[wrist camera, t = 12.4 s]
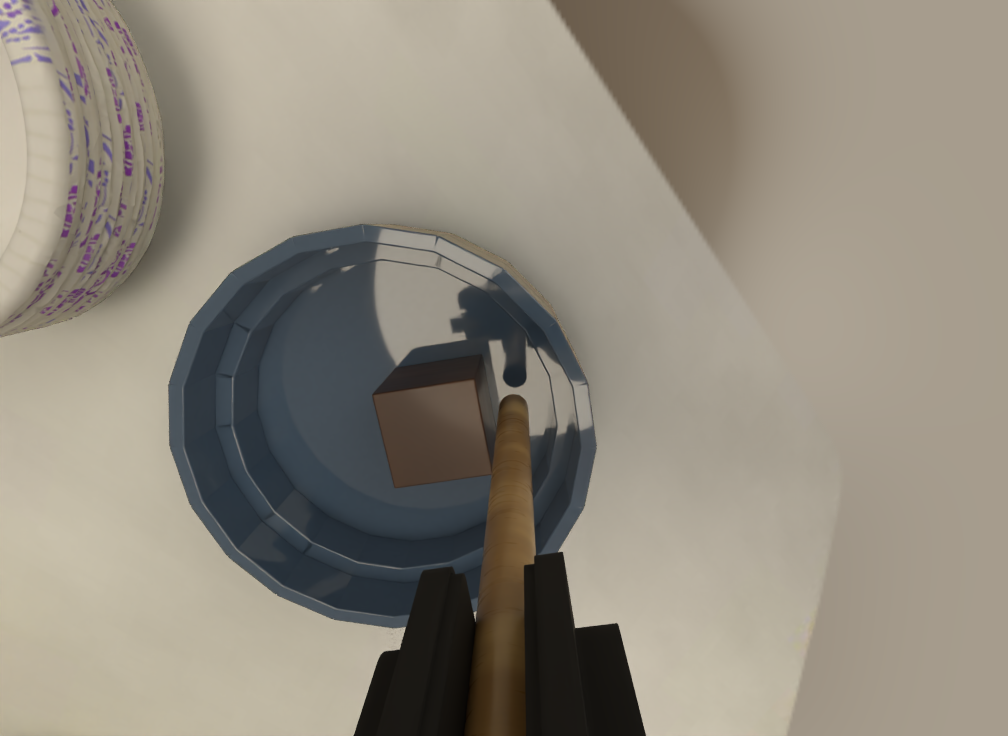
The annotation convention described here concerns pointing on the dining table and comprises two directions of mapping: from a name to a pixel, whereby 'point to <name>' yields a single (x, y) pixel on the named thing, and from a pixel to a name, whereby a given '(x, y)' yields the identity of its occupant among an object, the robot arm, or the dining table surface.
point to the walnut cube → (437, 421)
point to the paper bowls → (72, 159)
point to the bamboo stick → (504, 583)
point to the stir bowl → (364, 413)
